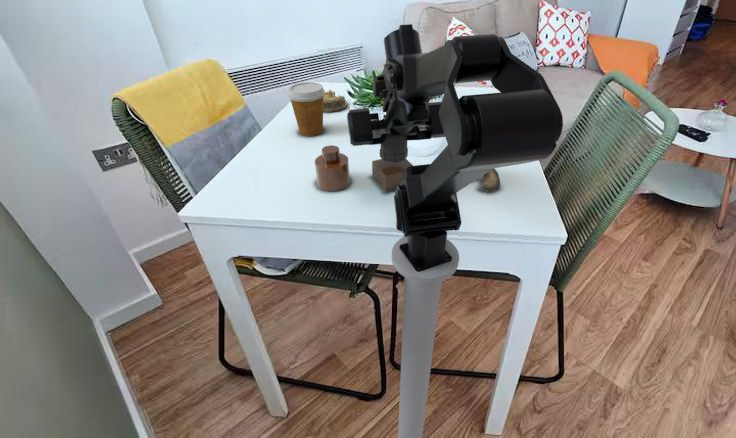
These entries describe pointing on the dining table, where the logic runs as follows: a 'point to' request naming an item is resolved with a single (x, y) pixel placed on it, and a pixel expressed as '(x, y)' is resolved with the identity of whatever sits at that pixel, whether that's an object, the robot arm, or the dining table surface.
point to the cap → (393, 148)
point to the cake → (333, 102)
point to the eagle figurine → (490, 181)
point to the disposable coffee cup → (308, 107)
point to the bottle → (332, 169)
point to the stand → (389, 173)
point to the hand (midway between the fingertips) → (392, 139)
